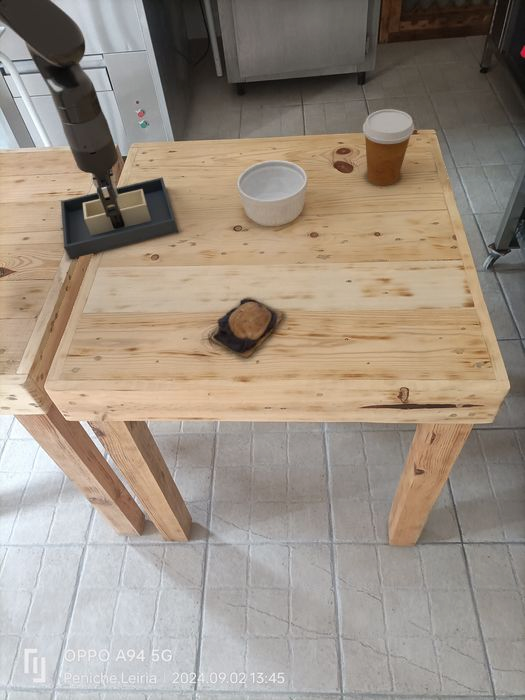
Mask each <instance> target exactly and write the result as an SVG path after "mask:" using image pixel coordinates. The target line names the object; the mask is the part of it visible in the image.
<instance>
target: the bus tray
mask: <svg viewBox="0 0 525 700" xmlns="http://www.w3.org/2000/svg"><path fill="white" fill-rule="evenodd" d="M116 188H117V192H118V194H123V193H127V192H131V191H135V190H140V189H143V192H144V196H145V199H146V202H147V205H148V210H149V214H150V218H151V221H149V222H145V223H141V224H137V225H133V226H129V227H125V228H121V229H117V230H113V231H108V232H104V233H100V234H96V235H92V236H91V233H90V231H89V229H88V226H87V224H86V222H85V219H84V211H83V203H85V202H89V201H93V200H97V199H100V198H99V195H98V193H97V192H94V193H89V194H85V195H80V196H77V197H73V198H68V199H64V200H60V209H61V223H62V224H61V225H62V237H63V248H64V251H65V252H66V254H67V256H68V258H69V260H72V259H76V258H80V257H81V258H82V257H84V256H88V255H92V254H97V253H100V252H104V251H107V250H108V251H109V250H113V249H116V248H121V247H124V246H128V245H133V244H137V243H140V242H146V241H149V240H152V239H153V240H154V239H157V238H162V237H165V236H169V235H173V234H177V233H179V229H178V226H177V225H178V224H177V221H176V219H175V214H174V211H173V208H172V204H171V202H170V198H169V195H168V194H169V193H168V191H167V187H166V183H165V181H164V178H163V176H162V177H157V178H152V179H149V180H144V181H141V182H136V183H133V184H128V185H124V186H120V187H116Z"/></svg>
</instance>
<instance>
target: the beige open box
mask: <svg viewBox="0 0 525 700" xmlns="http://www.w3.org/2000/svg"><path fill="white" fill-rule="evenodd" d="M118 195H119V198H118V199H117V201H118V204H119V207H120V211H121V215H122V218H123V220H124V223H125V227H129V226H133V225H137V224H141V223H145V222H149V221H151V218H150V214H149V210H148V205H147V202H146V199H145V196H144V192H143V189H140V190H135V191H131V192H127V193H123V194H118ZM112 206H114V205H109V206H108V207H112ZM83 211H84V219H85V222H86V224H87V226H88V229H89V231H90V233H91V236H92V235H96V234H100V233H104V232H108V231H113V230H117V229H114V228H113V225H112V222H111V220H110V217H107V216H106V214H105V213H106V212H105V210H104V207H103V204H102V202H101V201H100V199H97V200H93V201H89V202H85V203H83ZM125 227H123V228H125ZM119 229H121V228H119Z"/></svg>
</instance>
